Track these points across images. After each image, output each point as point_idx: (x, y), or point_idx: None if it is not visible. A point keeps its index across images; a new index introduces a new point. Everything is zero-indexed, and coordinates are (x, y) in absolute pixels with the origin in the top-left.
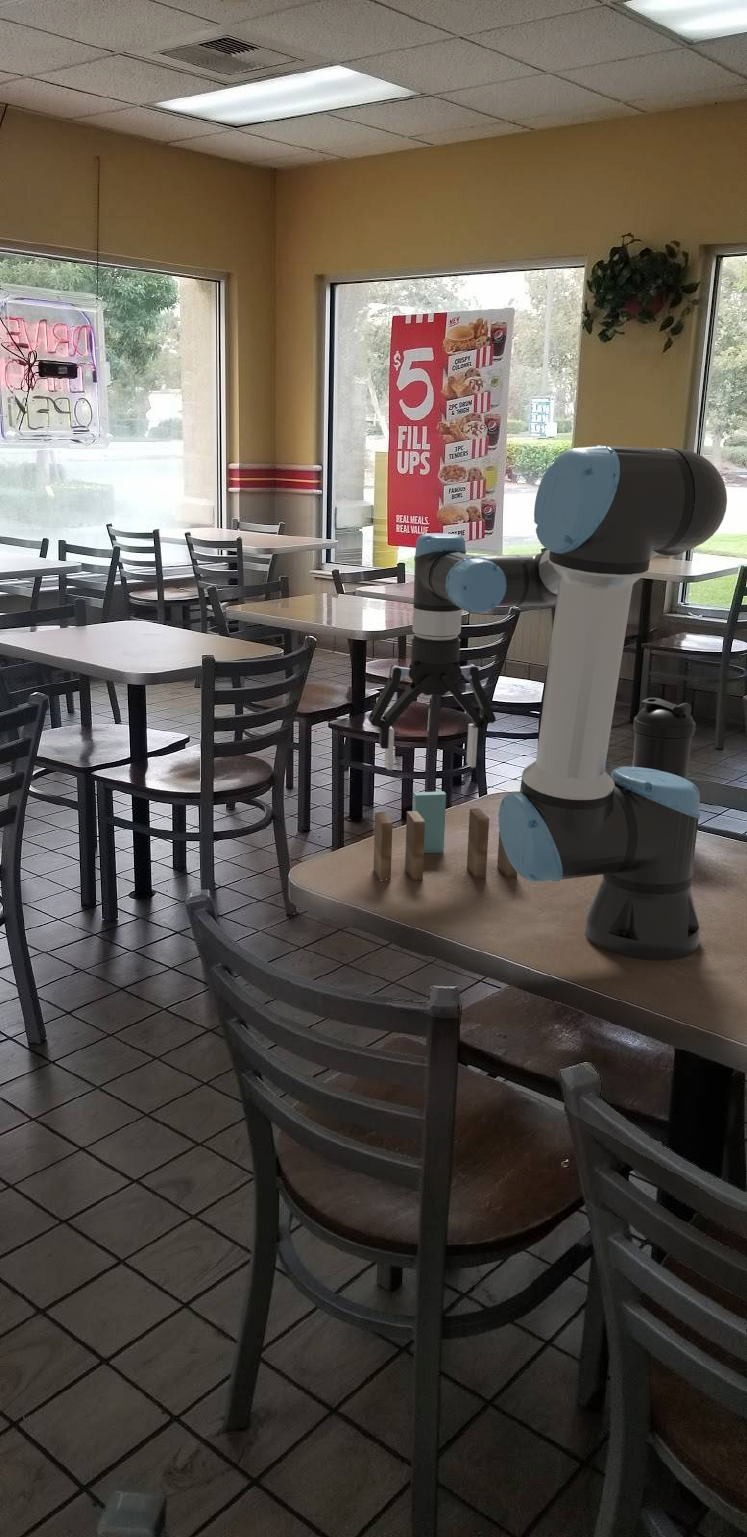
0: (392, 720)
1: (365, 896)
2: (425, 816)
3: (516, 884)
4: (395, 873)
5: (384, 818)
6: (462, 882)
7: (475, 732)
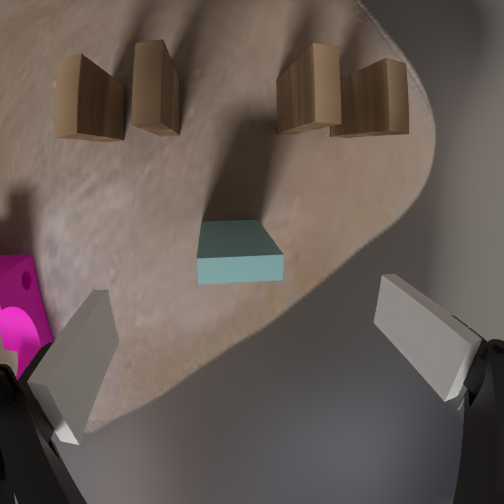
0: (500, 368)
1: (370, 59)
2: (246, 239)
3: (118, 65)
4: (311, 133)
5: (398, 88)
6: (205, 76)
7: (45, 368)
